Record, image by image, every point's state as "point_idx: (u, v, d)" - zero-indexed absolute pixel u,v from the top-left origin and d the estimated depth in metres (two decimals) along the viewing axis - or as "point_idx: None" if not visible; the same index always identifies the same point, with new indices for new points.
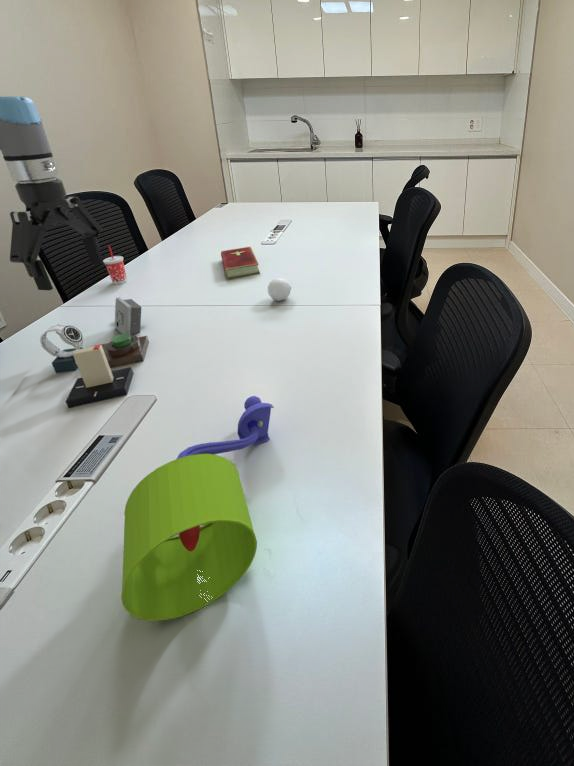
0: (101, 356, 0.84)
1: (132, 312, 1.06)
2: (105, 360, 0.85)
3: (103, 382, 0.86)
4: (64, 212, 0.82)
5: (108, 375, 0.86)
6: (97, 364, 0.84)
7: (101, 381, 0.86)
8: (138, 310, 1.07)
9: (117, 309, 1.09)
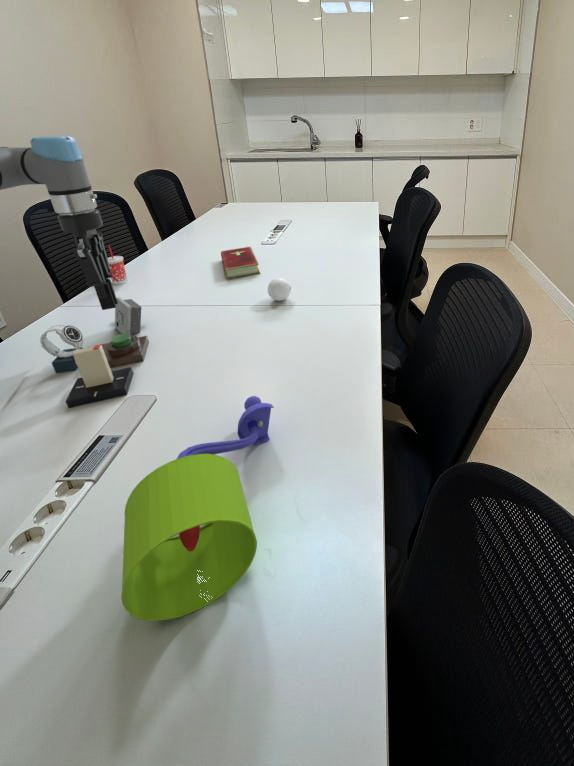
0: (101, 356, 0.84)
1: (132, 312, 1.06)
2: (105, 360, 0.85)
3: (103, 382, 0.86)
4: (99, 238, 0.89)
5: (108, 375, 0.86)
6: (97, 364, 0.84)
7: (101, 381, 0.86)
8: (138, 310, 1.07)
9: (117, 309, 1.09)
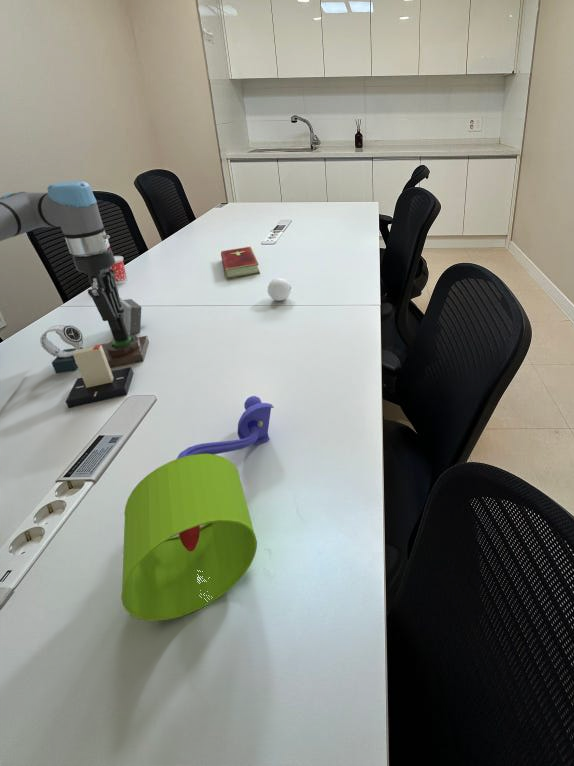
0: (101, 356, 0.84)
1: (132, 312, 1.06)
2: (105, 360, 0.85)
3: (103, 382, 0.86)
4: (112, 275, 0.92)
5: (108, 375, 0.86)
6: (97, 364, 0.84)
7: (101, 381, 0.86)
8: (138, 310, 1.07)
9: None
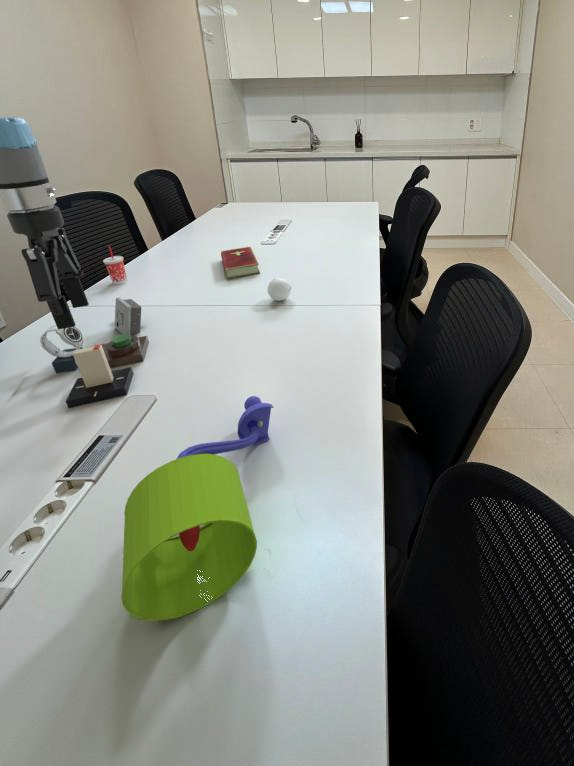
0: (101, 356, 0.84)
1: (132, 312, 1.06)
2: (105, 360, 0.85)
3: (103, 382, 0.86)
4: (61, 240, 0.75)
5: (108, 375, 0.86)
6: (97, 364, 0.84)
7: (101, 381, 0.86)
8: (138, 310, 1.07)
9: (117, 309, 1.09)
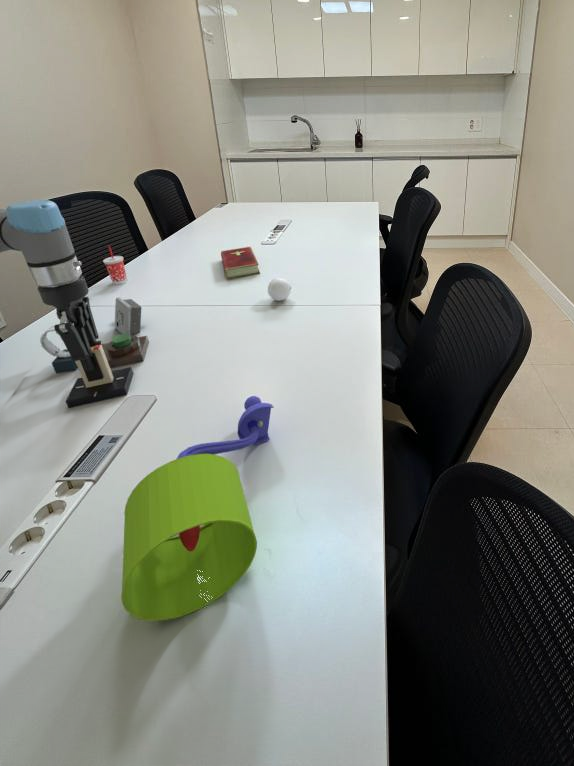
0: (101, 356, 0.84)
1: (132, 312, 1.06)
2: (105, 360, 0.85)
3: (103, 382, 0.86)
4: (85, 306, 0.81)
5: (108, 375, 0.86)
6: None
7: (101, 381, 0.86)
8: (138, 310, 1.07)
9: (117, 309, 1.09)
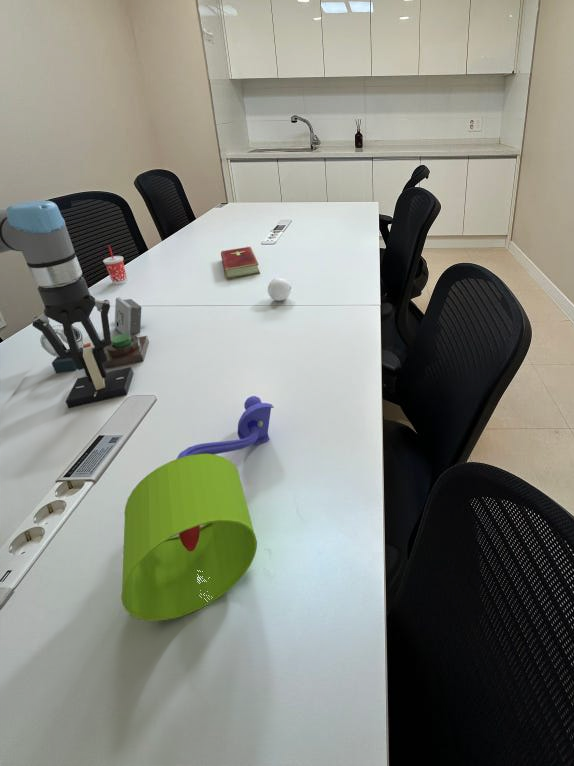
0: None
1: (132, 312, 1.06)
2: None
3: None
4: None
5: None
6: None
7: None
8: (138, 310, 1.07)
9: (117, 309, 1.09)
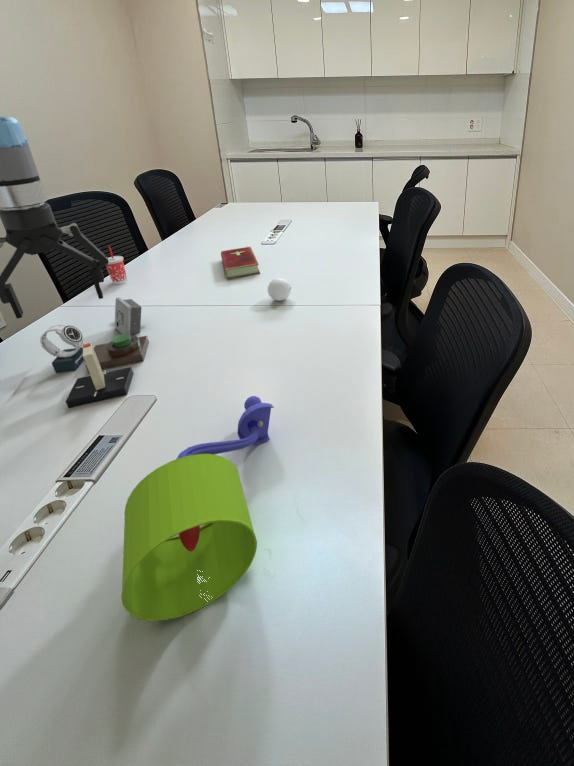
0: None
1: (132, 312, 1.06)
2: None
3: (103, 377, 0.87)
4: None
5: (101, 369, 0.88)
6: (97, 360, 0.86)
7: (103, 376, 0.87)
8: (138, 310, 1.07)
9: (117, 309, 1.09)
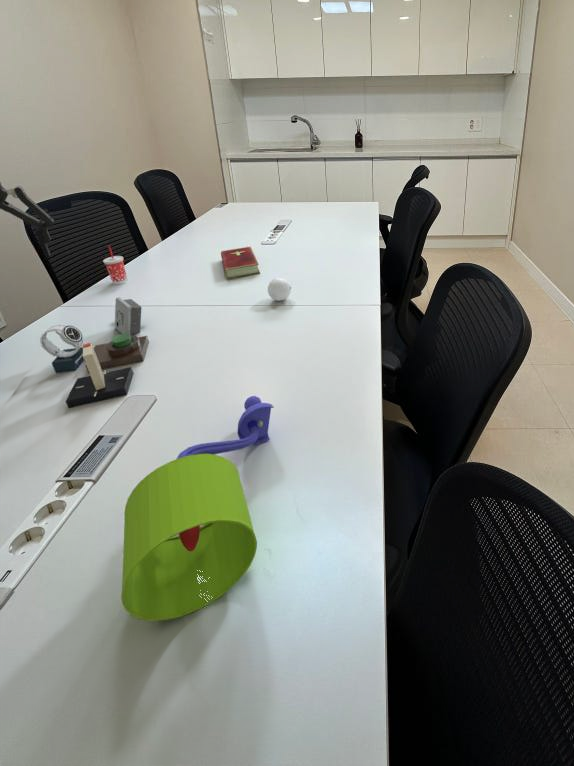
0: None
1: (132, 312, 1.06)
2: None
3: (103, 377, 0.87)
4: None
5: (101, 369, 0.88)
6: (97, 360, 0.86)
7: (103, 376, 0.87)
8: (138, 310, 1.07)
9: (117, 309, 1.09)
